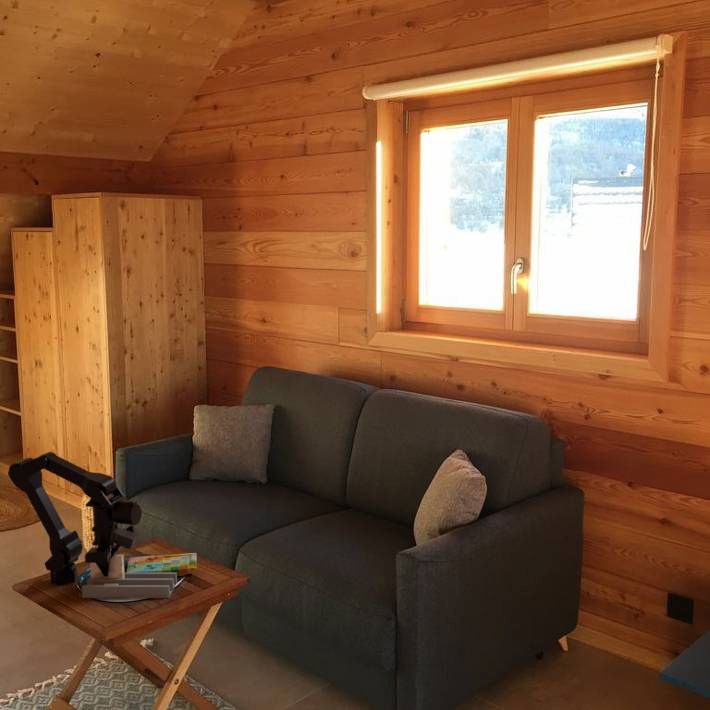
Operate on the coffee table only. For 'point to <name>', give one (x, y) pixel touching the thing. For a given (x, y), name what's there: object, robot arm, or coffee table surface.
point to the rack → (133, 586)
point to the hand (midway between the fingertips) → (107, 574)
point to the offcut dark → (95, 583)
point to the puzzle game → (164, 563)
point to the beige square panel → (110, 568)
